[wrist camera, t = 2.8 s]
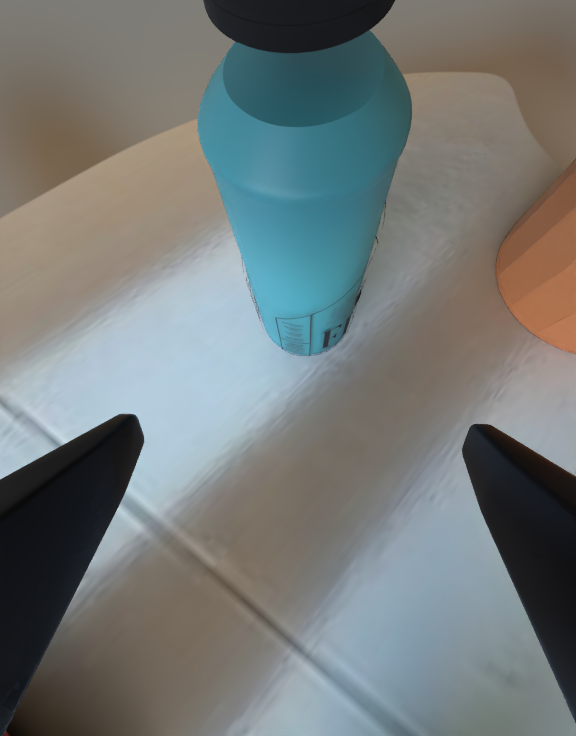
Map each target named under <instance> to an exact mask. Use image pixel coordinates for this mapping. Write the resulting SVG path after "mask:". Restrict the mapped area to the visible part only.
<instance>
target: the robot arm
mask: <svg viewBox="0 0 576 736" xmlns="http://www.w3.org/2000/svg"><path fill="white" fill-rule="evenodd" d="M143 444H144V435H143V432H142V429H141V426H140V423H139V420H138V418H137V416H136V415H134V414H119V415H117V416H115V417H113V418H112V419H110V420H108V421H106V422H104V423H102V424H101V425H99V426H97V427H95V428H93V429H92V430H90V431H88V432H86V433H84V434H82V435H81V436H79V437H77V438H75V439H73V440H71V441H70V442H68V443H66V444H64V445H62V446H61V447H59V448H57V449H55V450H53V451H51V452H50V453H48V454H46V455H44V456H42V457H41V458H39V459H37V460H35V461H33V462H31V463H30V464H28V465H26V466H24V467H22V468H20V469H19V470H17V471H15V472H13V473H11V474H10V475H8V476H6V477H4V478H2V479H0V736H4V734H5V732H6V730H7V728H8V726H9V724H10V722H11V720H12V718H13V716H14V713H15V712H14V711H15V710H16V709H17V707H18V705H19V703H20V701H21V699H22V697H23V695H24V693H25V691H26V689H27V687H28V685H29V683H30V681H31V679H32V677H33V675H34V673H35V671H36V669H37V667H38V665H39V663H40V661H41V659H42V657H43V655H44V653H45V651H46V650H47V648H48V646H49V644H50V642H51V640H52V638H53V636H54V634H55V632H56V630H57V628H58V626H59V624H60V622H61V620H62V618H63V616H64V614H65V612H66V610H67V608H68V606H69V604H70V602H71V600H72V598H73V596H74V594H75V592H76V590H77V588H78V586H79V584H80V582H81V580H82V578H83V576H84V574H85V572H86V570H87V568H88V566H89V564H90V562H91V560H92V558H93V556H94V554H95V552H96V550H97V548H98V546H99V544H100V542H101V540H102V538H103V536H104V534H105V532H106V530H107V528H108V526H109V524H110V522H111V520H112V518H113V516H114V514H115V512H116V510H117V508H118V506H119V504H120V502H121V500H122V498H123V496H124V494H125V491H126V489H127V487H128V484H129V481H130V479H131V476H132V473H133V471H134V468H135V466H136V463H137V460H138V458H139V455H140V452H141V450H142V447H143ZM462 454H463V458H464V461H465V464H466V467H467V470H468V473H469V476H470V479H471V483H472V486H473V489H474V492H475V495H476V498H477V501H478V504H479V507H480V509H481V512H482V514H483V517H484V519H485V522H486V524H487V526H488V528H489V530H490V533H491V535H492V537H493V539H494V542H495V544H496V546H497V548H498V551H499V553H500V555H501V557H502V560H503V562H504V564H505V566H506V568H507V571H508V573H509V575H510V577H511V580H512V582H513V584H514V586H515V589H516V591H517V593H518V595H519V597H520V600H521V602H522V604H523V606H524V609H525V611H526V613H527V615H528V618H529V620H530V622H531V624H532V626H533V629H534V631H535V633H536V635H537V638H538V640H539V642H540V644H541V647H542V649H543V651H544V653H545V656H546V658H547V660H548V662H549V664H550V667H551V669H552V671H553V673H554V676H555V678H556V680H557V682H558V685H559V687H560V689H561V691H562V693H563V696H564V698H565V700H566V702H567V705H568V707H569V709H570V711H571V714H572V716H573V718H574V720H575V723H576V476H574V475H572V474H571V473H569V472H567V471H566V470H564V469H562V468H561V467H559V466H557V465H556V464H554V463H553V462H551V461H549V460H548V459H546V458H544V457H543V456H541V455H539V454H538V453H536V452H534V451H533V450H531V449H530V448H528V447H526V446H525V445H523V444H521V443H520V442H518V441H516V440H515V439H513V438H511V437H510V436H508V435H506V434H505V433H503V432H502V431H500V430H498V429H497V428H495V427H493V426H492V425H489V424H473V425H472V426H471V427H470V428H469V431H468V434H467V436H466V439H465V442H464V444H463V448H462Z"/></svg>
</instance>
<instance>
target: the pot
mask: <svg viewBox="0 0 576 736" xmlns="http://www.w3.org/2000/svg"><path fill="white" fill-rule="evenodd" d="M496 277H497V283H498V287H499V290H500V293H501V295H502V297H503V299H504V301H505V303H506V305H507V306H508V308H509V309H510V311H511V312H512V314H513V315H514V316H515V317H516V318H517V320H518V321H519V322H520V323H521V324H522V325H523V326H524V327H525V328H527V329H528V330H529V331H530V332H532V333H533V334H534V335H536V336H537V337H538V338H540V339H542V340H543V341H545V342H547V343H548V344H551V345H553V346H555V347H557V348H559V349H562V350H565V351H568V352H571V353H575V354H576V159H575V160H574V161H573V162H572V163H571V165H570V166H569V167H568V168H567V169H566V170H565V171H564V172H563V173H562V174H561V175H560V176H559V177H558V179H557V180H556V181H555V182H554V183H553V184H552V185H551V186H550V187H549V188H548V189H547V190H546V191H545V193H544V194H543V195H542V196H541V197H540V198H539V199H538V200H537V201H536V202H535V203H534V204H533V205H532V207H531V208H530V209H529V210H528V211H527V212H526V213H525V214H524V215H523V216H522V217H521V218H520V220H519V221H518V222H517V223H516V224H515V225H514V226H513V228H512V230H511V231H510V232H509V234H508V235H507V236H506V238H505V239H504V241H503V243H502V245H501V247H500V249H499V252H498V255H497V261H496Z"/></svg>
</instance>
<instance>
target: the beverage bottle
mask: <svg viewBox="0 0 576 736" xmlns="http://www.w3.org/2000/svg"><path fill="white" fill-rule="evenodd" d="M394 1H395V0H204V5H205V9H206V12H207V14H208V16H209V18H210V19H211V21H212V22H213V24H214V25H215V26H216V27H217V28H218V29H219V30H220V31H221V32H222V33H223V34H225V35H226V36H227V37H229V38H231V39H232V40H234V41H236V42H235V43H234V44H233V46H232V47H231V48H230V50H229V51H228V53H227V54H226V56H225V57H224V58H223V60H222V61H221V63H220V64H219V66H218V68H217V69H216V71H215V72H214V73H213V75H212V77H211V79H210V81H209V84H208V86H207V88H206V90H205V93H204V95H203V98H202V101H201V104H200V109H199V115H198V133H199V139H200V143H201V146H202V149H203V152H204V154H205V157H206V159H207V161H208V163H209V164H210V166H211V168H212V171H213V174H214V177H215V180H216V183H217V185H218V188H219V191H220V194H221V197H222V200H223V203H224V206H225V209H226V212H227V215H228V218H229V221H230V224H231V226H232V229H233V232H234V235H235V238H236V241H237V244H238V247H239V250H240V253H241V256H242V259H243V262H244V265H245V267H246V272H247V276H248V279H249V282H250V285H251V288H252V291H253V294H254V297H255V300H256V304H257V306H258V310H259V312H260V315H261V317H262V320H263V323H264V326H265V329H266V331H267V333H268V335H269V336H270V338H271V339H272V340H273V341H274V342H275V343H276V344H277V345H278V346H280V347H281V348H282V349H285V350H287V351H289V352H292V353H295V355H296V354H300V355H301V356H311V355H312V354H316V355H317V353H320V354H321V352H323V351H326V350H328V349H329V348H331V347H333V346H334V345H336V344H337V342H338V341H339V340H340V339H341V338H342V337H343V335H344V334H345V333H346V330H347V327H348V324H349V321H350V318H351V315H352V316H353V312H354V311H353V308H354V310H355V306H356V304H357V302H358V301H359V297H360V295H361V290H360V293H358V292H359V289H360V286H361V283H362V280H363V277H364V273H365V271H366V267H367V264H368V261H369V257H370V254H371V251H372V248H373V245H374V241H375V238H376V239H377V237H376V235H377V231H378V227H379V224H380V219H381V215H382V212H383V208H384V205H385V208H386V198H387V195H388V192H389V188H390V185H391V182H392V178H393V175H394V172H395V168H396V165H397V162H398V159H399V157H400V155H401V153H402V151H403V149H404V147H405V145H406V141H407V138H408V134H409V131H410V127H411V120H412V102H411V97H410V92H409V90H408V87H407V84H406V82H405V79H404V77H403V75H402V74H401V72H400V70H399V68H398V67H397V65H396V63H395V62H394V60H393V59H392V58H391V56H390V55H389V53H388V52H387V50H386V49H385V47H384V46H383V45H382V44H381V43H380V41H379V40H378V39H377V38H376V37H375V36H374V34H373V33H371V31H369V30H370V29H371V28H372V27H374V26H375V25H376V24H378V23H379V21H381V20H382V19H383V18H384V17H385V15H386V14H387V13H388V11H389V10H390V9H391V7H392V5H393V3H394ZM384 217H385V214H384ZM383 223H384V222H383ZM382 228H383V227H382ZM377 243H378V240H377ZM375 250H376V249H375ZM374 253H375V252H374ZM372 258H373V257H372ZM371 260H372V259H371ZM242 266H243V265H242ZM243 272H244V271H243ZM367 275H368V274H367ZM366 278H367V277H366ZM246 280H247V279H246ZM364 281H366V279H365V280H364ZM247 284H249V283H247ZM364 284H365V283H364ZM247 286H248V285H247ZM363 286H364V285H362V287H363ZM361 289H362V288H361ZM362 290H363V289H362ZM251 296H252V295H251ZM252 299H253V297H252ZM253 302H254V301H253ZM254 303H255V302H254ZM255 306H256V305H255ZM257 306H256V307H257ZM256 307H255V308H256ZM256 311H257V310H256ZM257 313H258V311H257ZM258 316H259V314H258ZM353 317H354V316H353ZM259 319H260V317H259ZM351 323H352V322H351ZM350 325H351V324H350ZM349 327H350V326H349ZM342 340H343V339H342ZM337 345H338V344H337ZM333 348H334V347H333ZM285 350H284V351H285ZM330 350H331V349H330ZM328 351H329V350H328ZM289 352H288V353H289ZM326 352H327V351H326ZM292 353H291V354H292ZM323 353H324V352H323Z"/></svg>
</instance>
